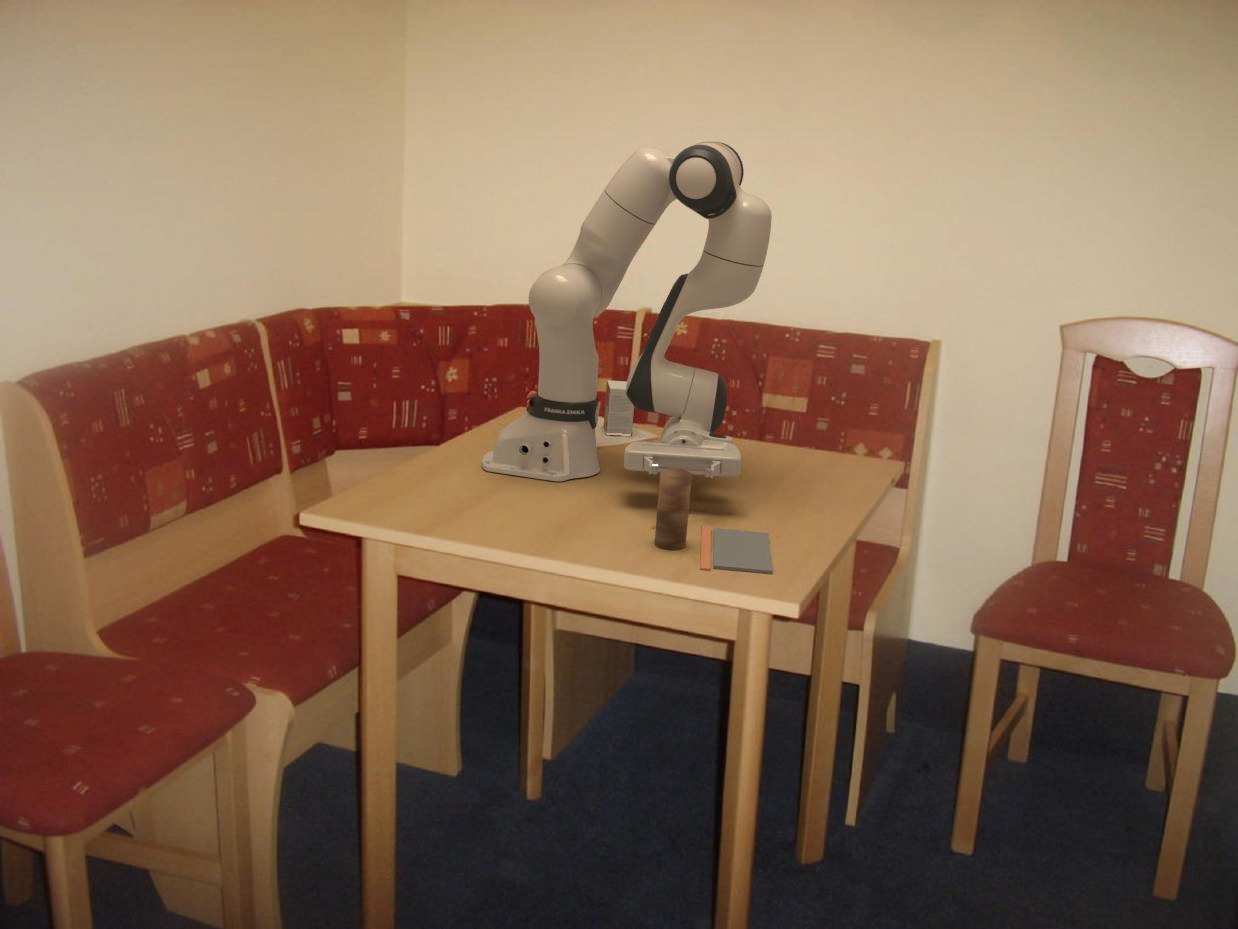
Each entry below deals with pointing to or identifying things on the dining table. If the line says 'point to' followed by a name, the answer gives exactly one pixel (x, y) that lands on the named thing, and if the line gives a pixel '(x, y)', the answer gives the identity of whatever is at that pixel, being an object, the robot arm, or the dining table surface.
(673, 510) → the brown tall cylinder
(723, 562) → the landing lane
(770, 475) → the dining table surface
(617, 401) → the small box
